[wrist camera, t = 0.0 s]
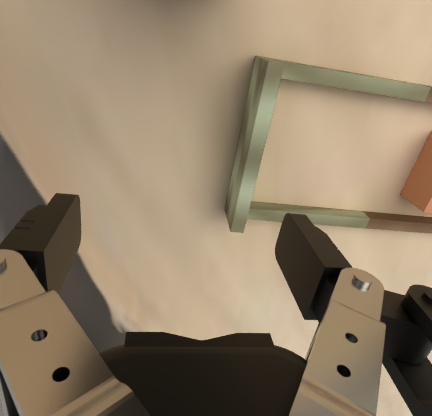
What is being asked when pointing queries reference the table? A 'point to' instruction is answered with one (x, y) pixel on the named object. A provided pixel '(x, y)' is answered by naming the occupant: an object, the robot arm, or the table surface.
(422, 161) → the block
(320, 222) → the lane
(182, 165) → the table surface
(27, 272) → the robot arm
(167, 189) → the table surface
